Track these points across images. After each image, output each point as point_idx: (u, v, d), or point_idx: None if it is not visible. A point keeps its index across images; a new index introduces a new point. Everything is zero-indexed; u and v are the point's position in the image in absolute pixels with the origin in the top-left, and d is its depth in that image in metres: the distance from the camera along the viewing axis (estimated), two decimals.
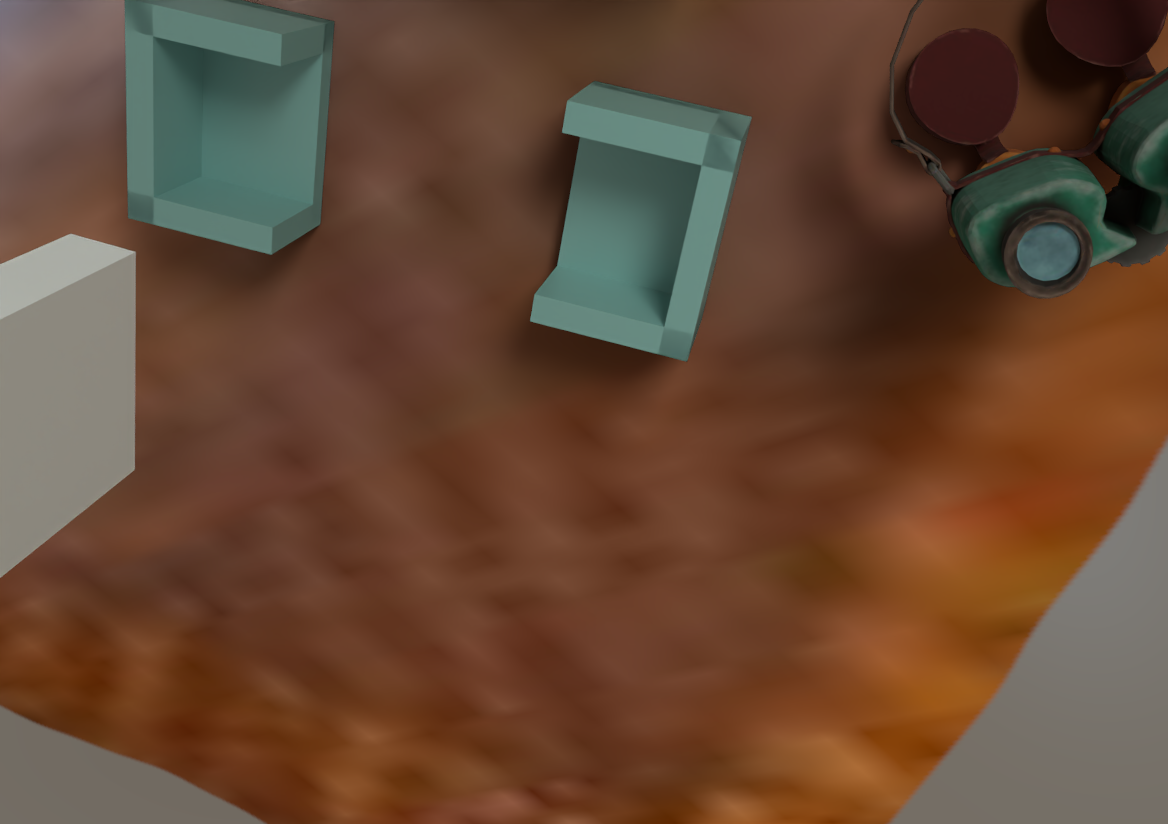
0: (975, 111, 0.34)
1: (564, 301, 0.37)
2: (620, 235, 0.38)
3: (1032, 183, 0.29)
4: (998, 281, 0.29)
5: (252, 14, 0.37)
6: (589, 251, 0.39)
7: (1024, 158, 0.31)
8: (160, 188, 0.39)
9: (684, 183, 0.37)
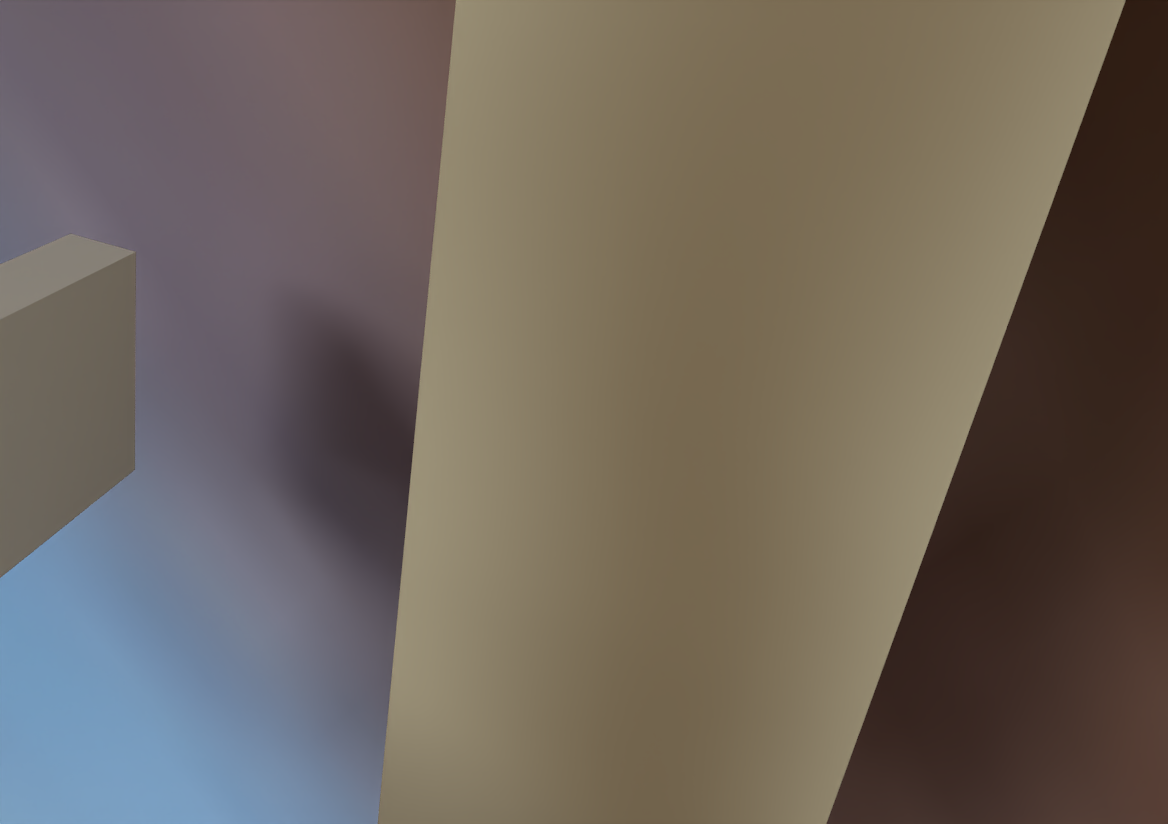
0: None
1: None
2: None
3: None
4: None
5: None
6: None
7: None
8: None
9: None
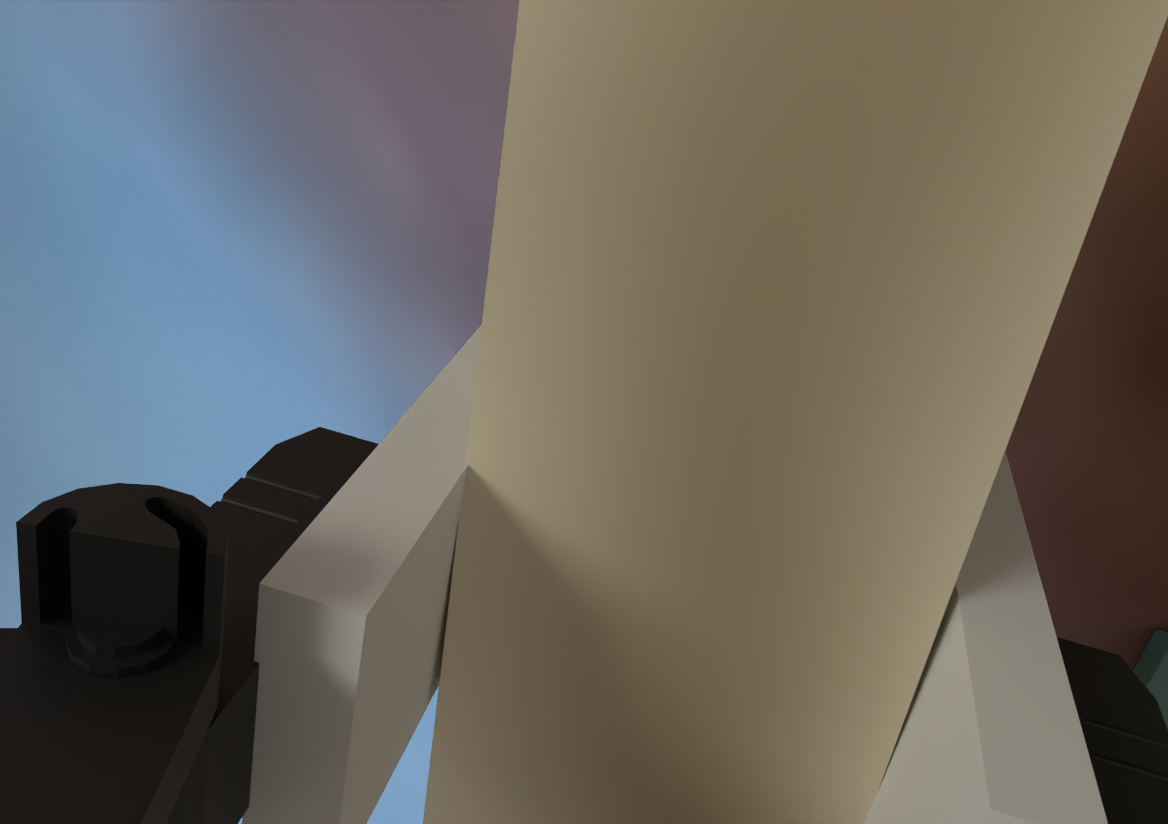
0: None
1: None
2: None
3: None
4: None
5: None
6: None
7: None
8: None
9: None
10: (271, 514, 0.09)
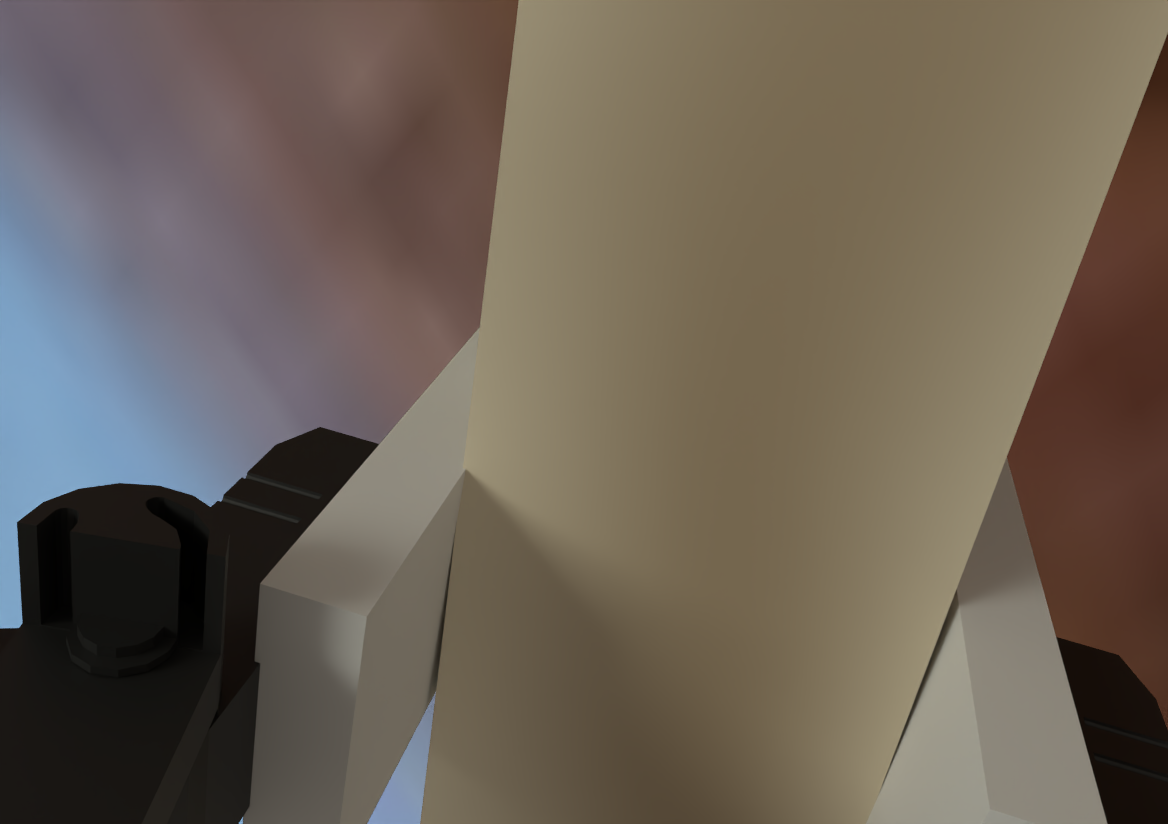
0: None
1: None
2: None
3: None
4: None
5: None
6: None
7: None
8: None
9: None
10: (272, 514, 0.09)
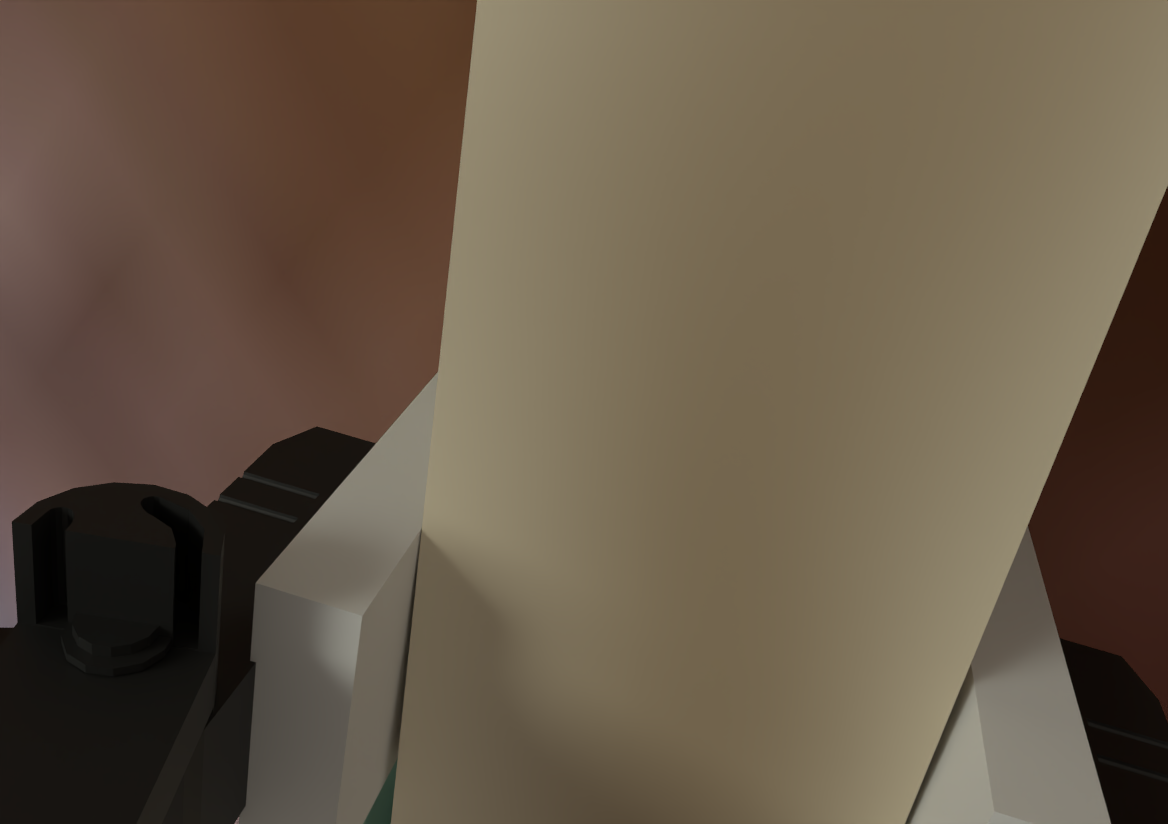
0: None
1: None
2: None
3: None
4: None
5: None
6: None
7: None
8: None
9: None
10: (268, 514, 0.09)
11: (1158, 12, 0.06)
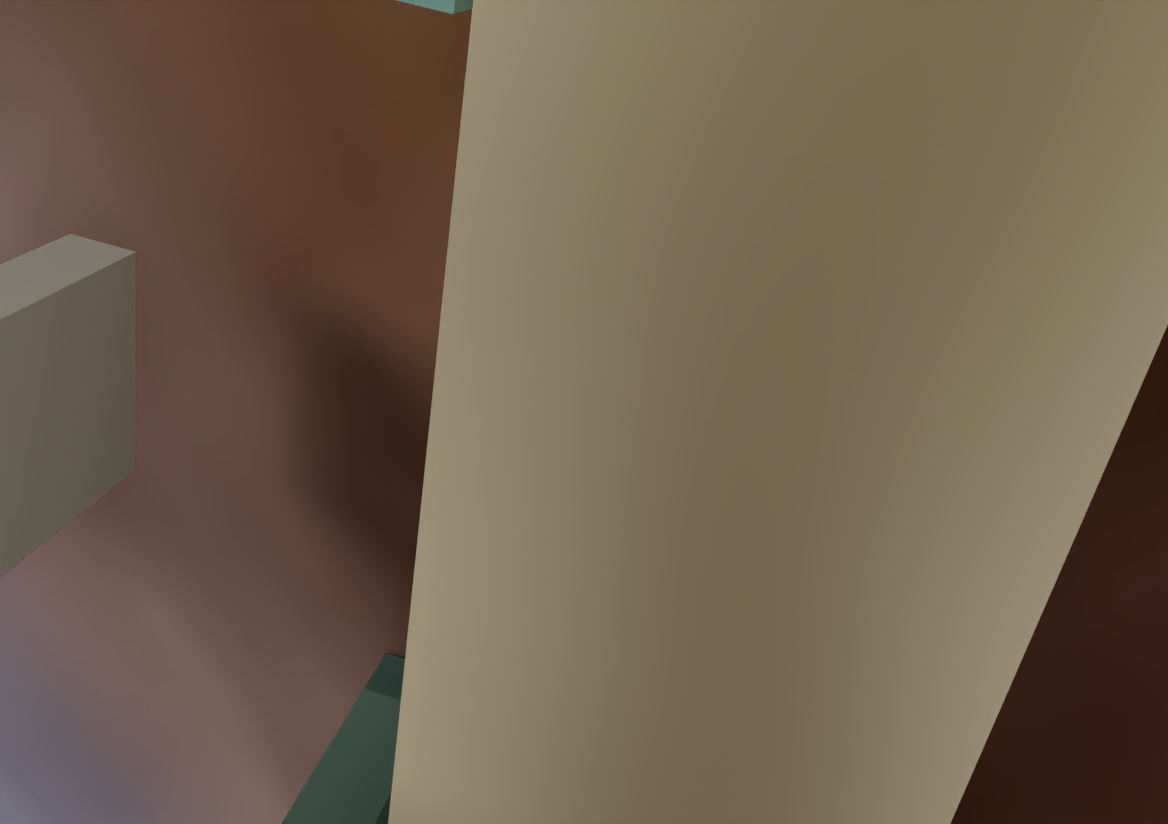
0: None
1: None
2: None
3: None
4: None
5: None
6: None
7: None
8: None
9: None
10: None
11: None
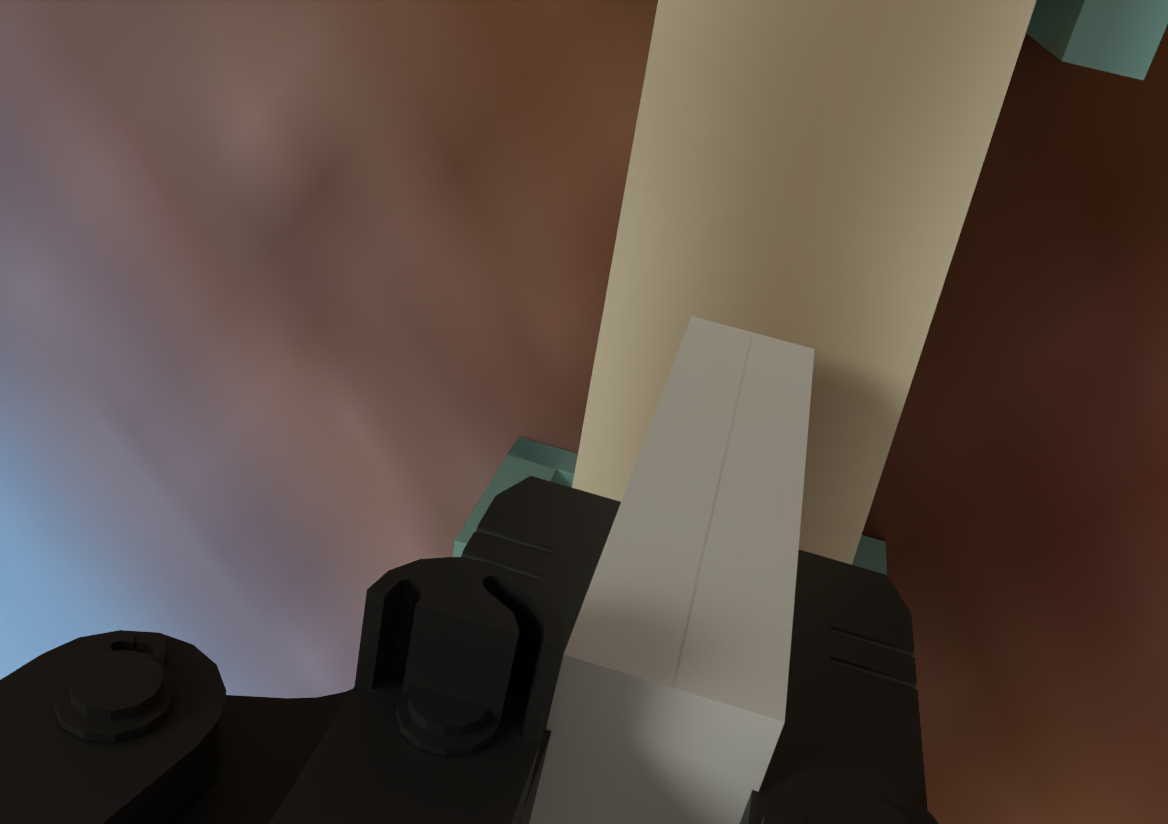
0: None
1: None
2: None
3: None
4: None
5: None
6: None
7: None
8: None
9: None
10: (514, 571, 0.09)
11: None
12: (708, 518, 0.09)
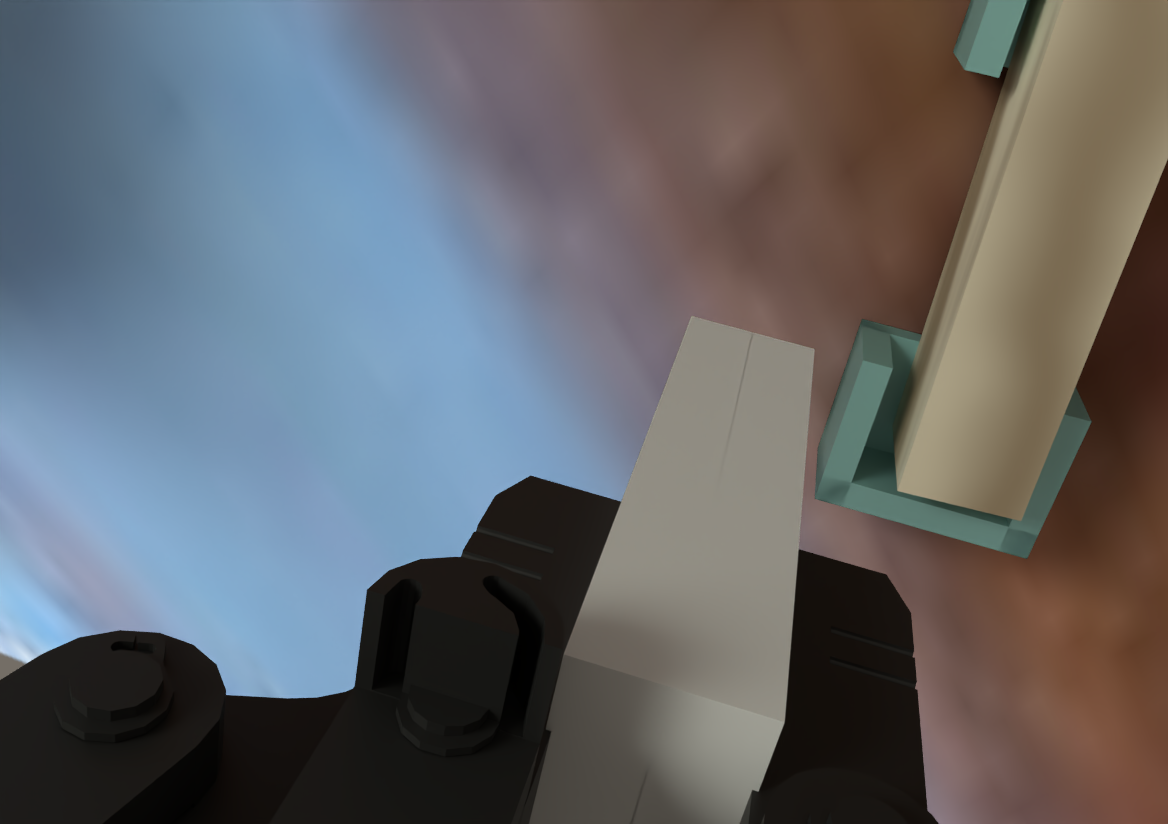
0: None
1: None
2: None
3: None
4: None
5: (844, 390, 0.39)
6: None
7: None
8: (1000, 518, 0.38)
9: None
10: (514, 571, 0.09)
11: None
12: (708, 518, 0.09)
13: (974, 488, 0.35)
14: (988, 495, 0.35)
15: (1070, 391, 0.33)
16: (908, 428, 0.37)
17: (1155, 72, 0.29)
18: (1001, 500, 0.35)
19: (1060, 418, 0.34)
